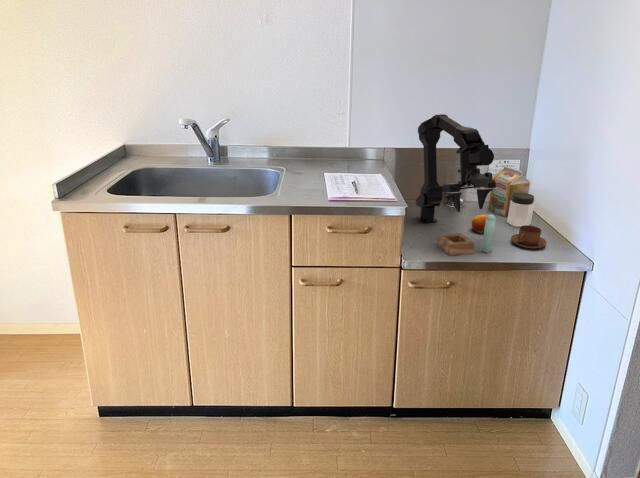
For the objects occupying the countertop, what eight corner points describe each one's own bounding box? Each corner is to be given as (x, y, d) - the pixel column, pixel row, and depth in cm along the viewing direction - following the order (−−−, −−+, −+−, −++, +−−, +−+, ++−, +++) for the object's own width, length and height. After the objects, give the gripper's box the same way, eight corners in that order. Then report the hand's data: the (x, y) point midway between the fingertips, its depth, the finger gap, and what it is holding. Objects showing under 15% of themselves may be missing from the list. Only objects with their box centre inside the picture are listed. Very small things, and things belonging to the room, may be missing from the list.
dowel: (479, 249, 176) (484, 213, 171) (487, 248, 177) (492, 212, 172) (484, 252, 173) (490, 216, 168) (492, 251, 174) (498, 215, 169)
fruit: (481, 234, 186) (477, 213, 187) (470, 237, 193) (466, 217, 194) (500, 232, 188) (496, 211, 189) (488, 235, 195) (484, 215, 196)
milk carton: (524, 214, 211) (532, 170, 203) (504, 217, 207) (511, 173, 200) (507, 206, 220) (514, 164, 212) (488, 209, 216) (494, 167, 209)
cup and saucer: (542, 254, 173) (545, 237, 171) (506, 246, 179) (509, 230, 177) (548, 242, 182) (551, 227, 180) (514, 236, 188) (517, 220, 186)
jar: (523, 229, 194) (528, 200, 190) (503, 223, 200) (508, 195, 195) (533, 223, 200) (538, 195, 195) (514, 218, 206) (518, 190, 201)
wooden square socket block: (437, 245, 179) (438, 235, 178) (459, 243, 181) (461, 233, 180) (450, 255, 171) (451, 245, 170) (473, 252, 173) (474, 242, 172)
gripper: (458, 167, 162) (460, 215, 164) (506, 163, 167) (507, 209, 170) (440, 168, 172) (442, 212, 175) (485, 164, 178) (486, 207, 180)
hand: (469, 210), depth 175 cm, fingers open, 9 cm apart
